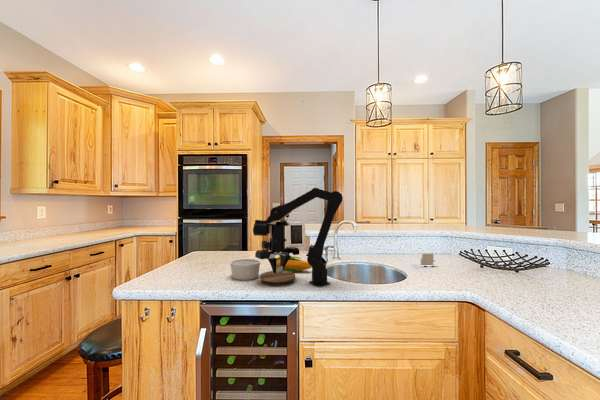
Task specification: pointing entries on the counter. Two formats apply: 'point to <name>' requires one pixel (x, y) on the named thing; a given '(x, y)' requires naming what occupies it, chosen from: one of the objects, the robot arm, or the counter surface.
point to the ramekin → (245, 269)
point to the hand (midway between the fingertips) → (277, 272)
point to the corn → (294, 264)
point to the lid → (277, 275)
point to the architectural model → (427, 259)
